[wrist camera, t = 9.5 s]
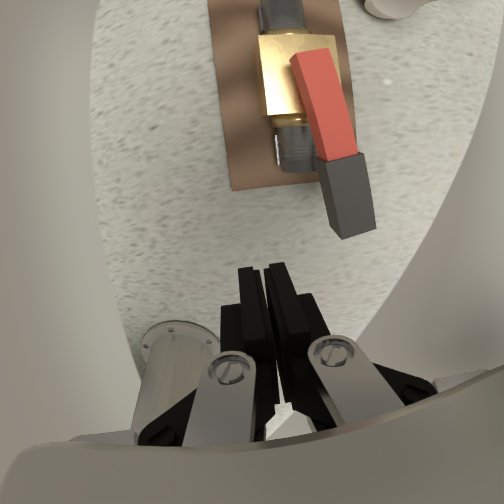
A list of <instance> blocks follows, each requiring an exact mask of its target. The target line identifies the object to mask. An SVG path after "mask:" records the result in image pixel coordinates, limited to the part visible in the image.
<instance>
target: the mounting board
mask: <svg viewBox="0 0 504 504" xmlns="http://www.w3.org/2000/svg"><path fill="white" fill-rule="evenodd" d="M207 1H208V9H209V18H210V26H211V34H212V42H213V51H214V59H215V67H216V75H217V82H218V90H219V98H220V106H221V113H222V121H223V128H224V136H225V143H226V151H227V158H228V165H229V173H230V180H231V187H232V191H239V190H247V189H254V188H263V187H271V186H280V185H289V184H299V183H309V182H320V180H319V176H318V172H317V171H316V172H309V173H286V172H282V171H281V165H277V164H276V163H275V156H274V146H273V137H272V134H278V133H277V128H273V127H272V118H271V116H261V117H260V110H259V102H258V94H257V86H256V78H255V70H254V62H253V55H252V52H253V49H254V46H255V43H256V40H257V37H258V35H260V33H259V26H258V19H257V8H258V5H261V4H260V0H207ZM302 2H303V8H304V13H305V19H306V25H307V29H308V30H310V31H311V32H312V34H317V35H334V36H335V42H336V48H337V55H338V62H339V70H340V78H341V86H342V91H343V95H344V98H345V102H346V105H347V109H348V113H349V117H350V120H351V124H352V128H353V132H354V137H355V141H356V126H355V112H354V101H353V91H352V82H351V73H350V66H349V58H348V51H347V45H346V39H345V33H344V27H343V22H342V16H341V11H340V6H339V2H338V0H302ZM356 145H357V142H356Z"/></svg>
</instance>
